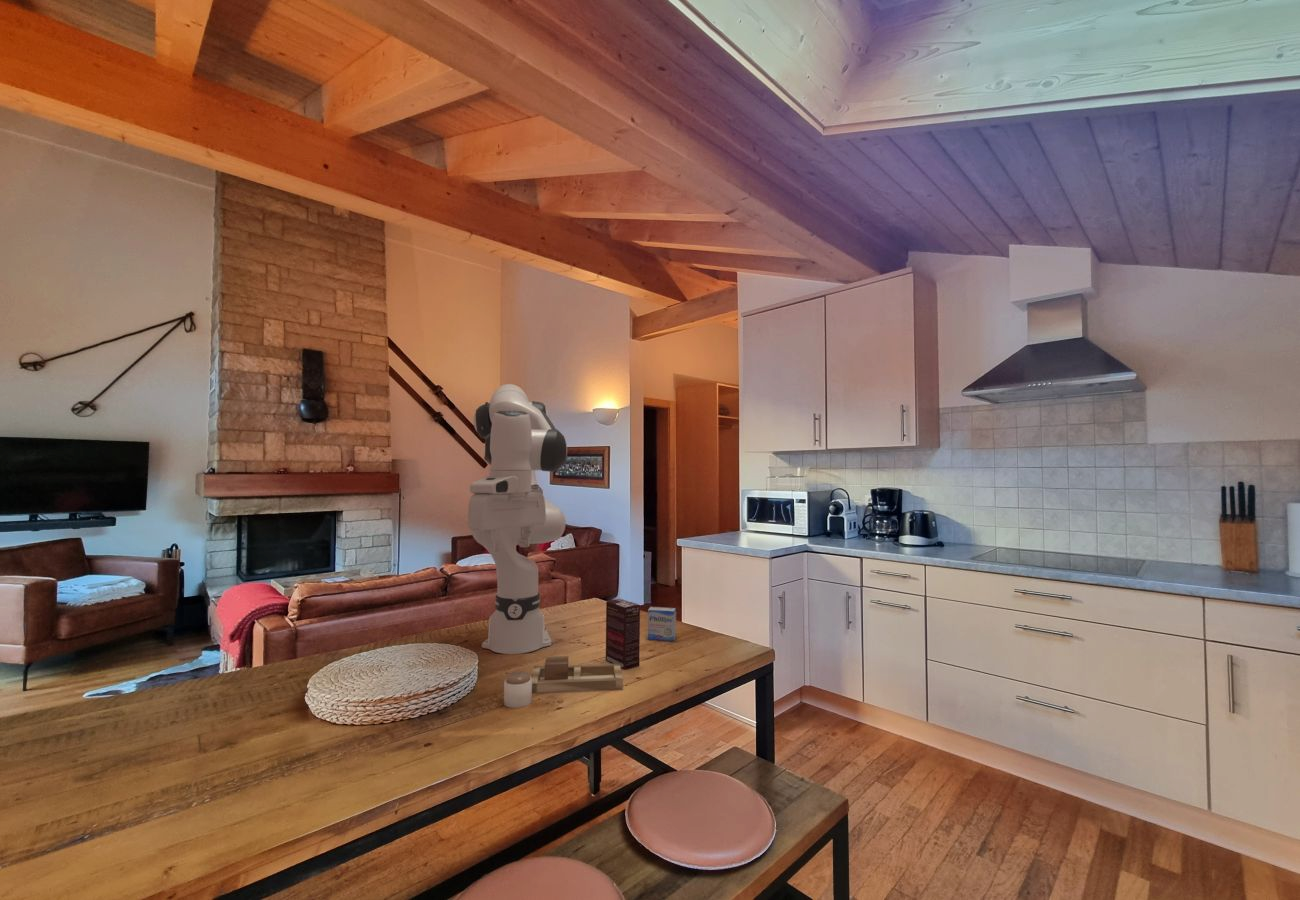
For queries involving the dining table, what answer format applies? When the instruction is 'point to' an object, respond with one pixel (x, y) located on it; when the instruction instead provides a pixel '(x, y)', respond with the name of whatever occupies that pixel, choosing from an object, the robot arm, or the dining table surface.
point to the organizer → (580, 679)
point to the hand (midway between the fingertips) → (509, 549)
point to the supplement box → (622, 633)
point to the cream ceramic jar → (517, 689)
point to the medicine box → (661, 624)
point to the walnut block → (556, 668)
